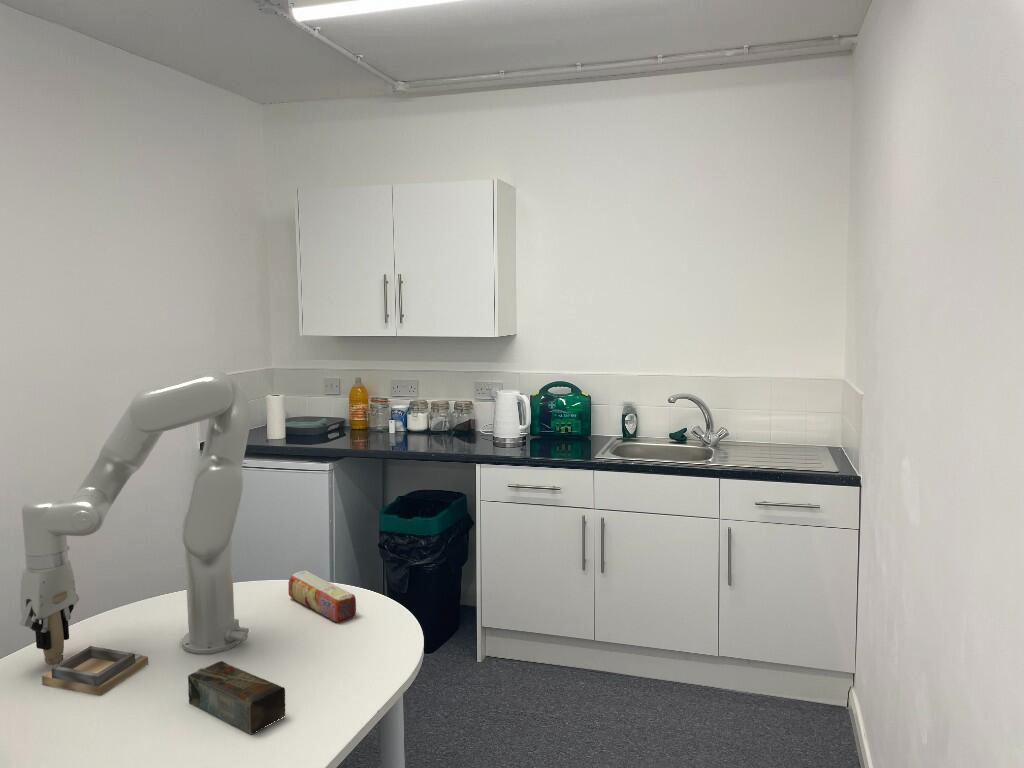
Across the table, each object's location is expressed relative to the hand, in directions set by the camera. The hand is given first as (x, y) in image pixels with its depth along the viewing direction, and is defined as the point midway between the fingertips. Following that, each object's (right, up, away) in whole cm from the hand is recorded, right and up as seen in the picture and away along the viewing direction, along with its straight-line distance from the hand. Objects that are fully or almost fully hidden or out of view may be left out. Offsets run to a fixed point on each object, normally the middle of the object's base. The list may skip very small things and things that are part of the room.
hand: (53, 642), depth 170 cm
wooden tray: (+11, -5, -4) cm, 13 cm away
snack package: (+49, -1, +29) cm, 57 cm away
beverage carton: (+44, -8, -17) cm, 47 cm away
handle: (0, -4, +1) cm, 4 cm away
